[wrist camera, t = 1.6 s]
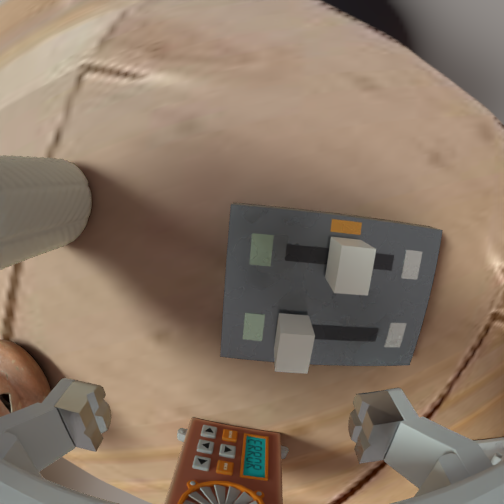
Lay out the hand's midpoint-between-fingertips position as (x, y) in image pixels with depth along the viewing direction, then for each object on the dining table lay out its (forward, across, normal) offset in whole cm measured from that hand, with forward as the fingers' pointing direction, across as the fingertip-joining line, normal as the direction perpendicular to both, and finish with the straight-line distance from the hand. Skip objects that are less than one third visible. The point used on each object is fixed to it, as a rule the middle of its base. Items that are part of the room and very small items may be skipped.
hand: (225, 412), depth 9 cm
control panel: (+24, -2, -28) cm, 37 cm away
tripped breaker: (+21, +9, 0) cm, 23 cm away
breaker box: (+24, +9, -5) cm, 26 cm away
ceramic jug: (+26, -37, -22) cm, 50 cm away
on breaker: (+21, +5, -8) cm, 23 cm away
